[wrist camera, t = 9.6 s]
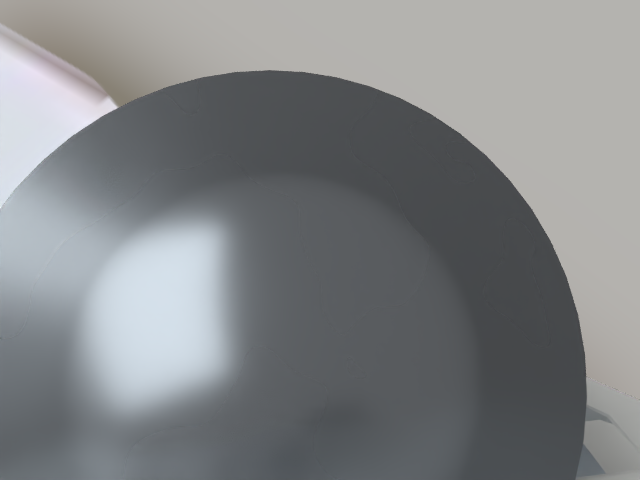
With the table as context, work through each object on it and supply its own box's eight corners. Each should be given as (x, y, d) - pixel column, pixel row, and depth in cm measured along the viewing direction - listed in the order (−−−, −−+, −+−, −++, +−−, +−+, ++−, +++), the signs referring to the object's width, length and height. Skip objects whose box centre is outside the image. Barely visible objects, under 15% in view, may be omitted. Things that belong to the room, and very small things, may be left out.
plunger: (402, 437, 17) (720, 427, 4) (255, 543, 16) (106, 974, 3) (311, 298, 19) (356, 0, 6) (171, 383, 18) (-152, 229, 5)
